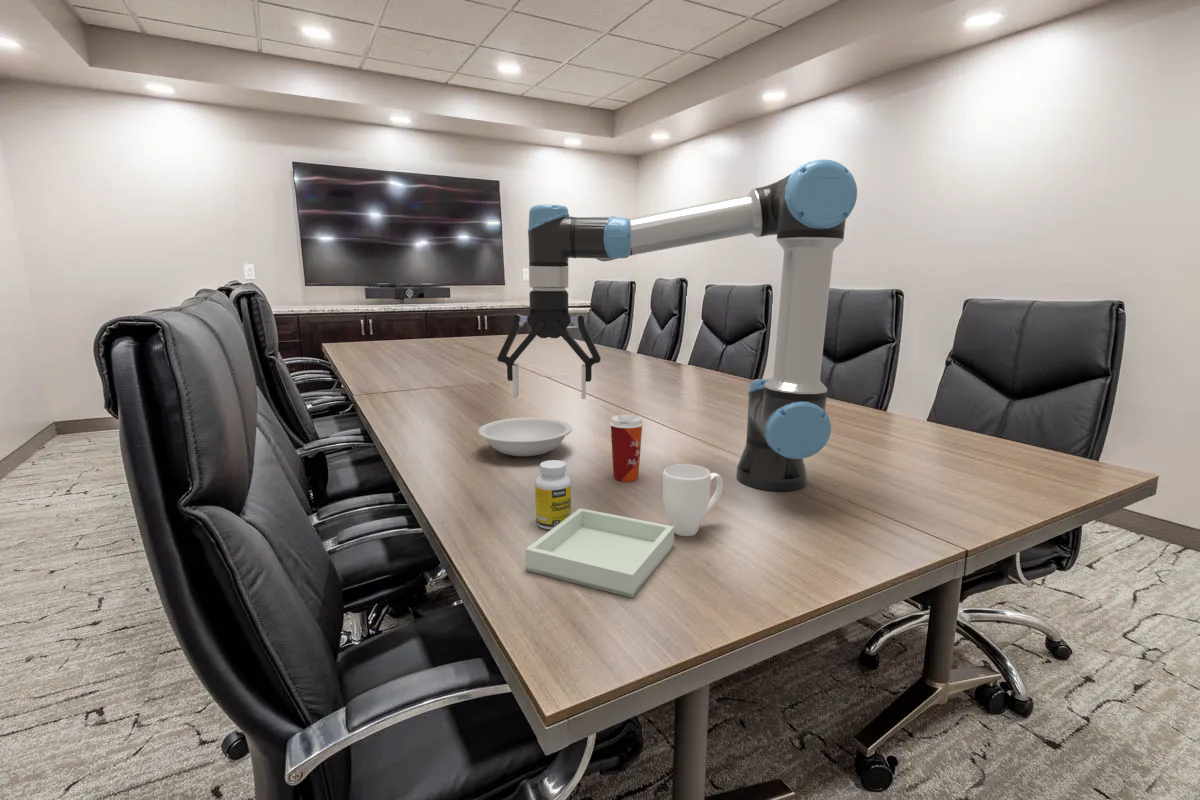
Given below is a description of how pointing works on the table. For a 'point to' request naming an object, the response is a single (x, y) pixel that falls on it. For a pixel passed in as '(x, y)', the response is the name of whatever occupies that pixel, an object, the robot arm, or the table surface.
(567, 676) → the table surface
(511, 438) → the soup bowl
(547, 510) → the pill bottle
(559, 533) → the tray
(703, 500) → the mug
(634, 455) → the paper cup
